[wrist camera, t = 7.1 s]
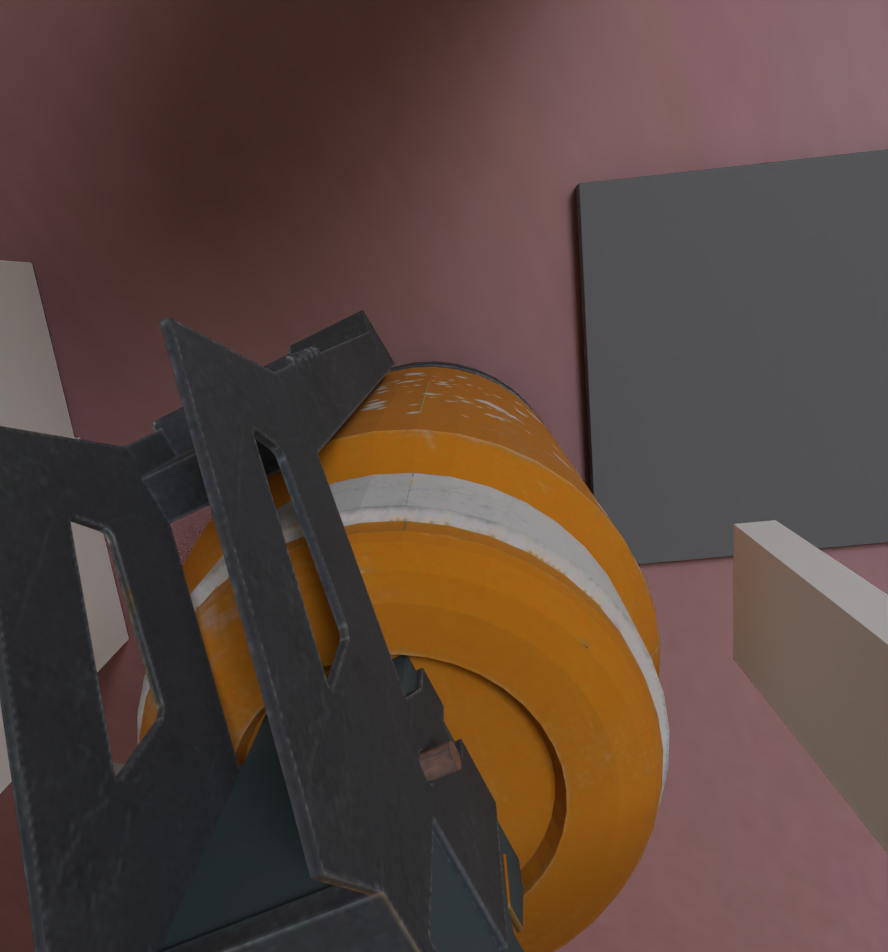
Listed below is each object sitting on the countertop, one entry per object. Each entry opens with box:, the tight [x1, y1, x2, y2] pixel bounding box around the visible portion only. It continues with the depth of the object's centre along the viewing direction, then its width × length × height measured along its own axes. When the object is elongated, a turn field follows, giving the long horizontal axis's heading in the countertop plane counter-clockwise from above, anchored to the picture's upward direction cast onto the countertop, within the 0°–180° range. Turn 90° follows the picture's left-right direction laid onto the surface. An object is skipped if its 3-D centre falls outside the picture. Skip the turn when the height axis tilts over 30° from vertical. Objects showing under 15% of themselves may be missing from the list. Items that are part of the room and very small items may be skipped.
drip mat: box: [576, 150, 888, 564], centre depth 23 cm, size 13×13×1 cm
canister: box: [0, 310, 669, 952], centre depth 15 cm, size 9×11×20 cm
